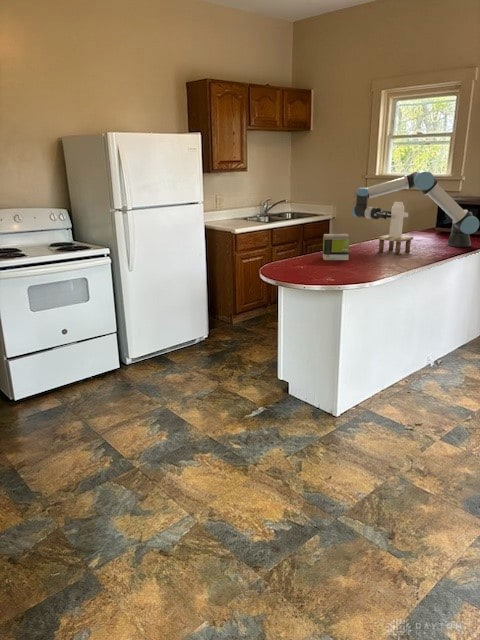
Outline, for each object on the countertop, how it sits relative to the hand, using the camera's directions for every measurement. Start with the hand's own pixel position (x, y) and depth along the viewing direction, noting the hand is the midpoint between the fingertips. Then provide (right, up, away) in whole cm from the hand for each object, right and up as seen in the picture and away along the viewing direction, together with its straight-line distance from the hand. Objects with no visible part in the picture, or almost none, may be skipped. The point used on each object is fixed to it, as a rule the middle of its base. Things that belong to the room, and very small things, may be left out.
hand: (402, 216), depth 311 cm
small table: (-2, -22, +10) cm, 24 cm away
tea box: (-44, -29, -9) cm, 53 cm away
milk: (-2, -12, +7) cm, 14 cm away
